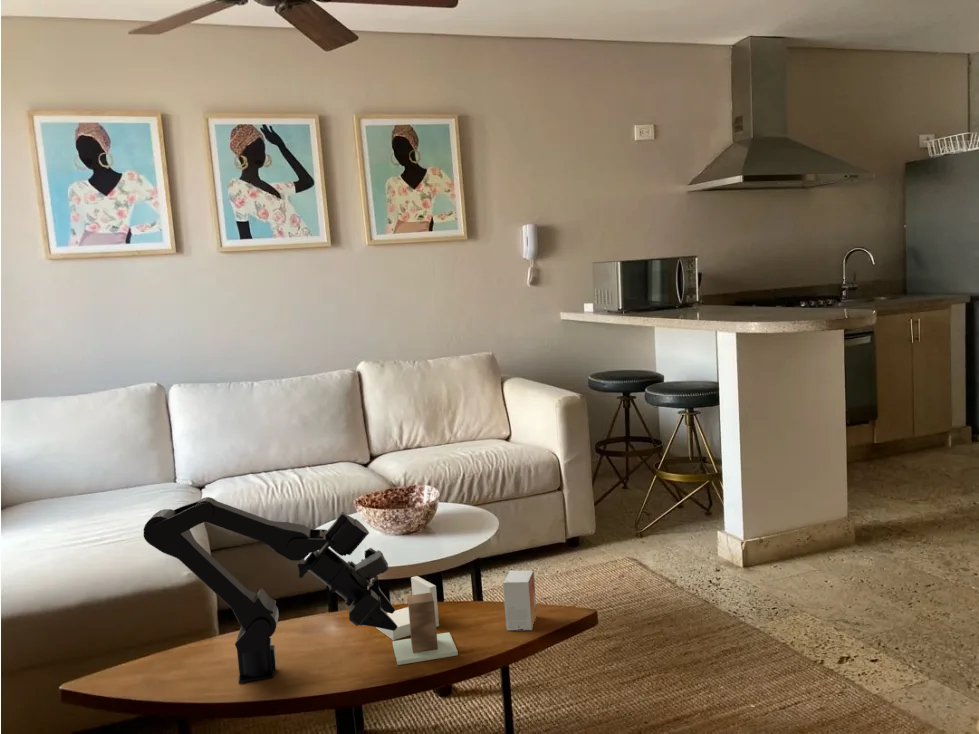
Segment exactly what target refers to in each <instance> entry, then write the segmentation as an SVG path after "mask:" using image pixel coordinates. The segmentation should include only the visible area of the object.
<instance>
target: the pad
mask: <svg viewBox="0 0 979 734" xmlns="http://www.w3.org/2000/svg"><path fill="white" fill-rule="evenodd" d="M437 644H438V650H431V651H424V652H416V653H413V650H412V644H411V637H410V638H405V639H397V640H392V647H393V652H394V656H395V660H396V664H397V666H401V665H407V664H412V663H420V662H424V661H430V660H435V659H443V658H449V657H454V656H458V655H459V653H458V652H459V651H458V649H457V646H456V644H455V642H454V640H453V638H452V635H451V632H443V633H442V632H441V633H437Z"/></svg>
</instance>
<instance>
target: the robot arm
mask: <svg viewBox="0 0 979 734" xmlns="http://www.w3.org/2000/svg"><path fill="white" fill-rule="evenodd" d="M203 523H209V524H211V525H214V526H215V527H216V526H217V527H220V528H222V529H225V530H228V531H230V532H233V533H236V534H239V535H241V536H245V537H247V538H250V539H253V540H254V541H259V542H261V543H263V544H265V545H266V546H268V547H269V548H270V549H271V550H273V551H274V553H275V552H276V553H277V554H279V555H281V556H282V557H284V558H286V559H288V560H289V561H293V562H297V568H298V577H299V578H300V579H303V577H304V576H306V574H307V573H308V572H309V573H310V574H312V575H313V576H315V577H316V578H317V579H318V580H320V581H321V582H322V583H323V584H324V585H326V586H328V588H329V592H331V593H332V595H333V594H335V593H336V594H338V596H340V597H341V598H343V599H344V600H345V602H344V603H345V605H347V606H348V607H349V608H348V618H349V622H351V623H352V624H353V625H355V626H356V627H358V626H367V627H374V628H376V627H378V628H383V629H388V630H392V631H395V630H396V628H397V625H396V623H395V622H394V621H393V620H392V619H391V618H390V617H389V616H388V614H387V613H391V614H393V613H394V611H396V608H395V607H394V606H393V604H392V602H391V601H390V600H389V599H388V598H387V596H386V595H385V594H384V592H383V590H381V588H380V584H379V583H380V582H379V575H380V574H384V573H386V572H387V571H388V570H389V563H388V561H387V560H386V558H385V556H384V555H383V552H382V551H381V550H375V549H374V548H372V547H369V548H368V549H365V550H364V559H363V558H362V559H361V560H360V561H359V562H358V563H355V562H353V561H350V560H348V561H347V560H344V559H343V558H342V556H343V557H346V556H351V555H352V554H353V553H354V551H356V549H357V548H358V547H359V546H360V544H362V542H363V541H364V540H365V539H366V537H367V536H368V535H369V534H370V532H369V530H368V529H367V528H366V526H365V525H363V523H361V522H360V521H359V520H358V519H356V518H354V517H352V516H351V515H349V514H346V513H345V512H341V513H340V514H339V515H338V516H337V518H336V520H335V521H334V522H333V524H332V525H330V527H329V528H328V529H324V528H323V529H319V528H318V529H317V528H309V527H307V526H306V525H304V524H300V523H294V522H290V521H276V520H269V519H267V518H264V517H262V516H259V515H256V514H253V513H251V512H248V511H245V510H242V509H239V508H238V507H235V506H232V505H228V504H226V503H223V502H222V501H221V502H220V501H217V500H216V499H215V498H213V497H210V496H206V497H203V498H201V499H199V500H197V501H195V502H191V503H188V504H185V505H182V506H180V507H178V508H175V509H173V508H172V509H171V508H169V509H168V508H165V509H160V510H159V511H157V512H155V513H154V514H153V515H152V516H151V517H150V519H148V520H147V522H146V523H145V524H144V527H143V535H142V536H143V539H144V540H145V541H146V542H147V544H149V545H150V546H151V547H153V548H155V549H157V551H159V552H161V553H163V554H165V555H167V556H170V557H173V558H175V559H177V560H179V561H180V562H181V563H182V564H184V566H185V567H186V568H187V569H188V570H189V571H191V572H192V573H193V574H194V575H195V576H196V577H197V578H198V579H199V580H200V581H201V582H203V583H204V584H205V586H207V587H208V588H209V589H210V590H211V591H212V592H213V593H214V594H216V596H218V598H219V599H221V601H223V602H224V603H225V604H226V605H227V606H228V607H229V608H230V609H231V610H232V612H233V614H234V616H235V617H236V620H237V622H238V623H239V625H240V629H239V632H238V634H237V637H236V640H235V644H234V645H235V648H236V653H237V665H238V673H239V674H238V679H237V681H238V683H239V684H240V683H241V684H242V683H247V682H252V681H253V682H254V681H260V680H265V679H271V678H273V677H274V674H275V671H276V670H277V657H276V655H277V654H276V647H275V645H274V644H272V636H273V635H274V633H275V632H276V629H277V625H278V621H279V620H278V619H279V615H280V614H279V608H278V606H277V605H276V603H277V600H275V599H274V598H272V597H270V596H269V595H268V594H267V592H266V591H265V590H264V589H263V588H260V589H259V591H258V592H257V593H256V592H254V591H252V590H249V589H248V588H246V587H245V585H244V584H242V583H241V582H240V581H239V580H238V579H237V578H236V577H235V576H234V575H232V573H231V572H229V570H227V568H225V567H224V566H223V565H222V564H221V563H220V562H219V561H218V560H217V559H215V557H213V555H211V554H210V553H209V552H208V551H207V550H206V549H205V548H204V547H203V546H202V545H201V544H200V543H198V542H197V540H196V539H195V537H194V535H193V533H192V531H191V530H190V529H192V528H194V527H196V526H198V525H201V524H203Z"/></svg>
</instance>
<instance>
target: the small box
mask: <svg viewBox="0 0 979 734" xmlns="http://www.w3.org/2000/svg"><path fill="white" fill-rule="evenodd" d="M502 589H503V599H504V600H503V601H504V613H505V625H506V631H519V630H518V629H523V630H522V631H533V628H534V625H535V623H534V621H535V622H536V620H537V618H536V616H537V617H538V613H537V602H536V601H537V597H536V585H535V571H534V570H509V571H508V573H507V575H506V577H505V579H504V581H503V582H502ZM535 619H536V620H535ZM533 624H534V625H533Z"/></svg>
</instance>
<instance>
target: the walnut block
mask: <svg viewBox="0 0 979 734" xmlns="http://www.w3.org/2000/svg"><path fill="white" fill-rule="evenodd" d="M406 596H407V607H408V609H409V621H410V633H411V635H410V638H411V644H412V650H413V653H416V652H424V651H431V650H438V644H437V634H438V633H437V627H436V620H435V607H434V599H433V595H432V593H424V594H416V595H412V594H411V595H410V594H409V595H406Z"/></svg>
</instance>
